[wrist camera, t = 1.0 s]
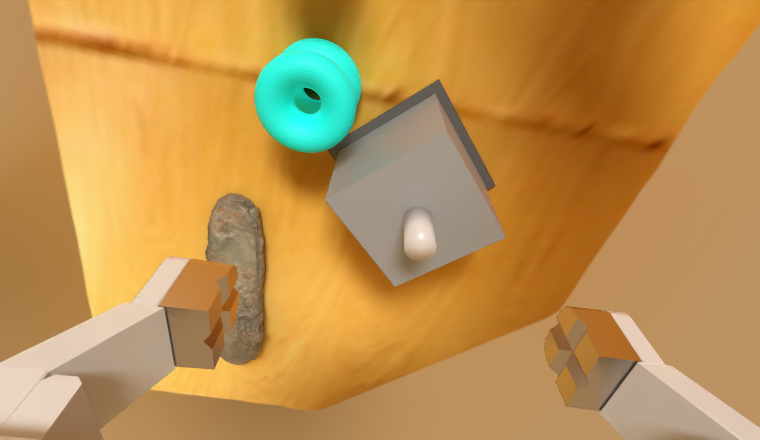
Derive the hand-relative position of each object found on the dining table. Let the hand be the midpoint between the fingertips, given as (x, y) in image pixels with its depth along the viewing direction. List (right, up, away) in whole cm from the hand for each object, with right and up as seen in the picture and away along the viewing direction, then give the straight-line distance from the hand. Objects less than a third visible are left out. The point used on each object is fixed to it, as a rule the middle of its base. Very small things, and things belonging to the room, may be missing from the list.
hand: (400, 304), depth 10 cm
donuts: (-8, +18, +37) cm, 42 cm away
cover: (+4, +9, +42) cm, 43 cm away
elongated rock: (-23, -8, +55) cm, 60 cm away
